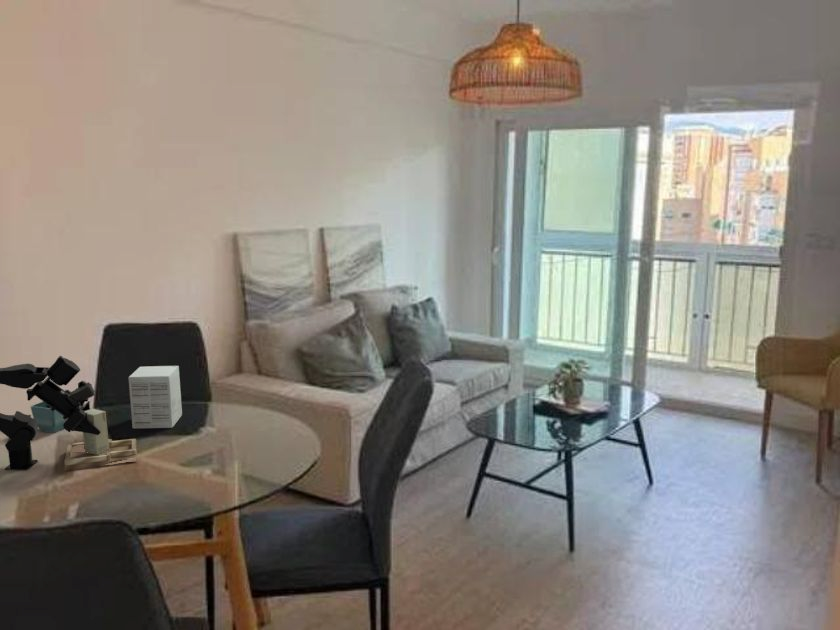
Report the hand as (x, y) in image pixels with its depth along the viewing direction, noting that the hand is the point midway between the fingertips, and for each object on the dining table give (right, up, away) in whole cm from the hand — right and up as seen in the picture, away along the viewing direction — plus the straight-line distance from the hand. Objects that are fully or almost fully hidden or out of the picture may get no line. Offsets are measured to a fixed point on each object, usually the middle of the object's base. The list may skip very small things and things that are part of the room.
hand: (100, 429), depth 229 cm
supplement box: (+6, -2, +32) cm, 32 cm away
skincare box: (-1, -7, +1) cm, 7 cm away
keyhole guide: (0, -8, +2) cm, 8 cm away
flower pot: (-25, -4, +24) cm, 35 cm away
